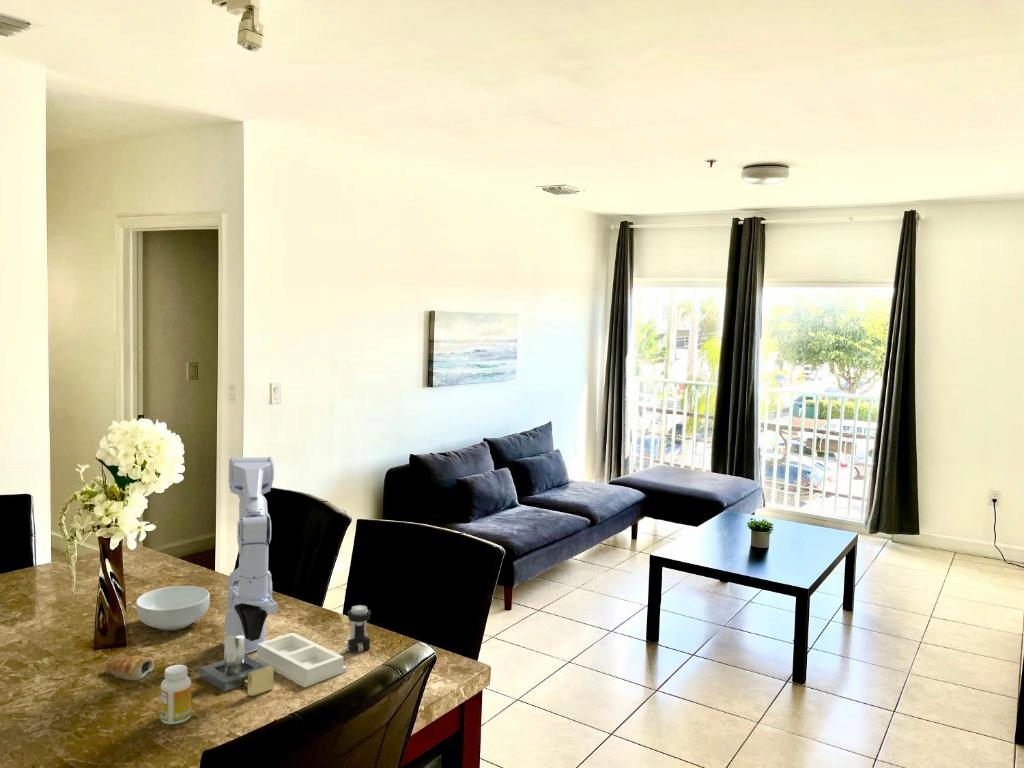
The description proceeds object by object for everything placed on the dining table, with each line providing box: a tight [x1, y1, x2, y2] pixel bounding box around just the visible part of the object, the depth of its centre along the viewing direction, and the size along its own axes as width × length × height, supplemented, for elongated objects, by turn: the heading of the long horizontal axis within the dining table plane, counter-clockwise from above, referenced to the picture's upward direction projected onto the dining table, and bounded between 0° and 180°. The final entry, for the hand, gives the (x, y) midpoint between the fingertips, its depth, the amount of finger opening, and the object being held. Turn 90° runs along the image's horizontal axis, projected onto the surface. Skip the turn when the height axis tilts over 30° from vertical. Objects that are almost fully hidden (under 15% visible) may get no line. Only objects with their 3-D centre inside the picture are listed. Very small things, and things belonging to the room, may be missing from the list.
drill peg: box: [223, 632, 245, 676], centre depth 172 cm, size 4×4×9 cm
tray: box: [253, 632, 348, 688], centre depth 179 cm, size 19×11×4 cm, turn 50°
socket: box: [199, 654, 266, 693], centre depth 172 cm, size 10×10×2 cm
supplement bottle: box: [160, 664, 192, 725], centre depth 154 cm, size 5×5×10 cm
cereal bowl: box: [135, 585, 211, 631], centre depth 199 cm, size 17×17×7 cm
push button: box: [341, 604, 372, 653], centre depth 188 cm, size 7×5×10 cm
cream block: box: [241, 665, 275, 697], centre depth 168 cm, size 8×5×4 cm, turn 50°
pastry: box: [105, 655, 155, 681], centre depth 172 cm, size 9×7×4 cm
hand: (252, 638), depth 167 cm, fingers closed
